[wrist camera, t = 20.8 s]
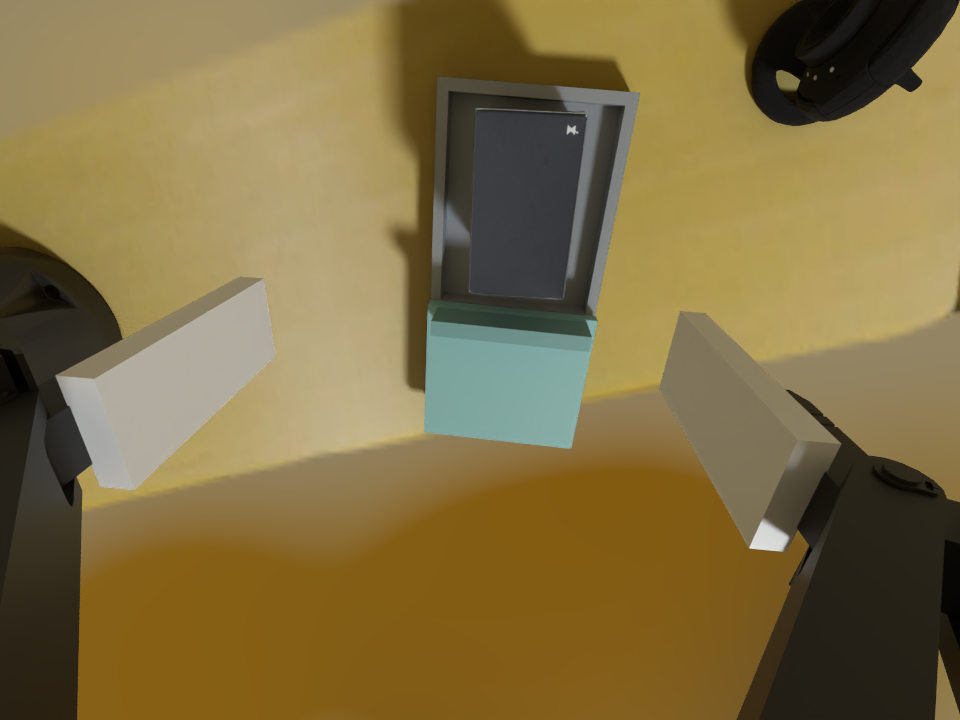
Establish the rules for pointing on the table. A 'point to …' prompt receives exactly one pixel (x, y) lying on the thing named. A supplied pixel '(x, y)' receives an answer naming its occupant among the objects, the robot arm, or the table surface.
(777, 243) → the table surface
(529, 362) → the lid
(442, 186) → the tray
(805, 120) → the webcam
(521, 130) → the small box
